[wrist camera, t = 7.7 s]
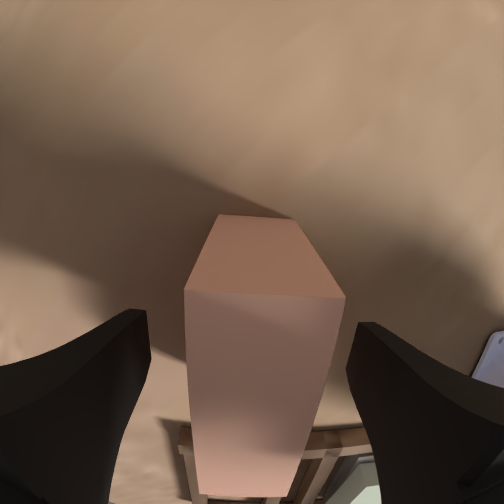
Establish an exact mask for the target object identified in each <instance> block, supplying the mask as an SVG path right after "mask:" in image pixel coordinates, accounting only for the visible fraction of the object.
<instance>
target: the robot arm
mask: <svg viewBox="0 0 504 504" xmlns="http://www.w3.org/2000/svg"><path fill="white" fill-rule="evenodd" d="M150 363H151V351H150V343H149V334H148V324H147V314H146V310H138V309H128V310H125V311H123V312H122V313H120V314H118V315H116V316H115V317H113V318H111V319H110V320H108V321H106V322H104V323H103V324H101V325H99V326H98V327H96V328H94V329H93V330H91V331H89V332H87V333H85V334H84V335H82V336H80V337H78V338H76V339H74V340H72V341H70V342H68V343H66V344H64V345H62V346H60V347H58V348H56V349H53V350H51V351H48V352H46V353H43V354H41V355H38V356H35V357H32V358H29V359H26V360H22V361H19V362H16V363H12V364H8V365H3V366H0V504H108V500H109V494H110V488H111V482H112V477H113V472H114V468H115V463H116V459H117V455H118V451H119V447H120V443H121V440H122V437H123V434H124V431H125V429H126V426H127V424H128V421H129V419H130V417H131V414H132V412H133V410H134V407H135V405H136V403H137V400H138V398H139V396H140V393H141V391H142V389H143V386H144V384H145V381H146V377H147V374H148V370H149V366H150ZM346 373H347V378H348V382H349V386H350V391H351V394H352V396H353V399H354V402H355V404H356V407H357V410H358V412H359V415H360V417H361V420H362V423H363V425H364V428H365V430H366V433H367V436H368V438H369V441H370V445H371V448H372V451H373V456H374V460H375V465H376V470H377V475H378V481H379V487H380V494H381V503H382V504H504V331H499V332H495V333H493V334H492V335H491V336H490V338H489V340H488V343H487V345H486V347H485V350H484V352H483V354H482V356H481V358H480V360H479V363H478V365H477V367H476V369H475V371H474V373H473V375H472V377H469V376H467V375H464V374H462V373H460V372H458V371H456V370H454V369H451V368H449V367H447V366H445V365H443V364H442V363H440V362H438V361H436V360H435V359H433V358H431V357H429V356H428V355H426V354H424V353H423V352H421V351H420V350H418V349H416V348H415V347H413V346H412V345H410V344H409V343H407V342H406V341H404V340H403V339H401V338H400V337H398V336H397V335H395V334H393V333H392V332H390V331H389V330H387V329H386V328H384V327H382V326H381V325H379V324H377V323H375V322H358V326H357V329H356V333H355V337H354V341H353V344H352V348H351V351H350V355H349V358H348V362H347V365H346Z"/></svg>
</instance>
